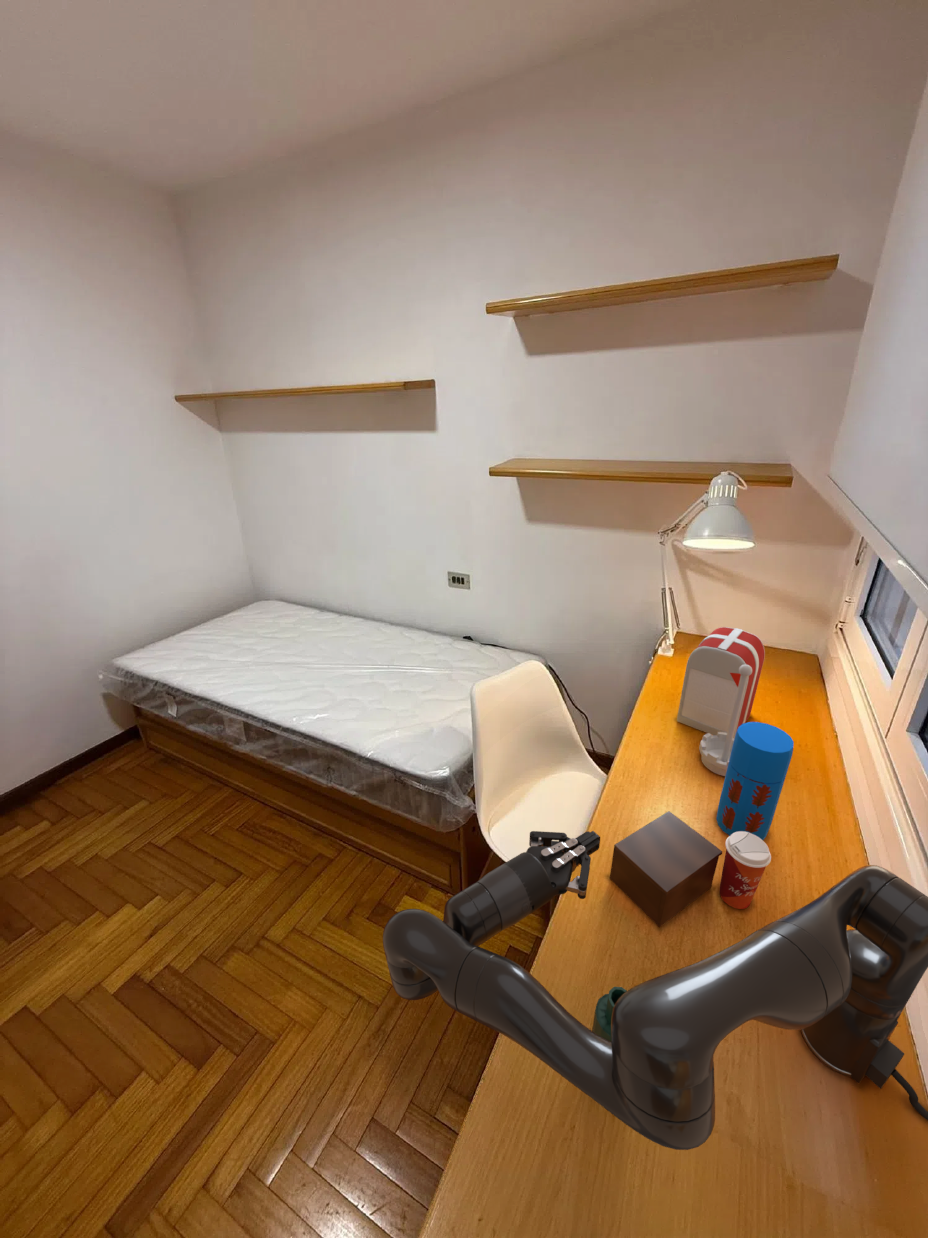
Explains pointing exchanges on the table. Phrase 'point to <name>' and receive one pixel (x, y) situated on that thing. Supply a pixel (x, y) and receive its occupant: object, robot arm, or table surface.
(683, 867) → the lid
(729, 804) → the thermos
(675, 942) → the table surface
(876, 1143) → the table surface
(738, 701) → the flag stand
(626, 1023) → the robot arm
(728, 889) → the paper cup
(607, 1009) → the bottle
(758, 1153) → the table surface
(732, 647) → the toy mailbox
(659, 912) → the chest
